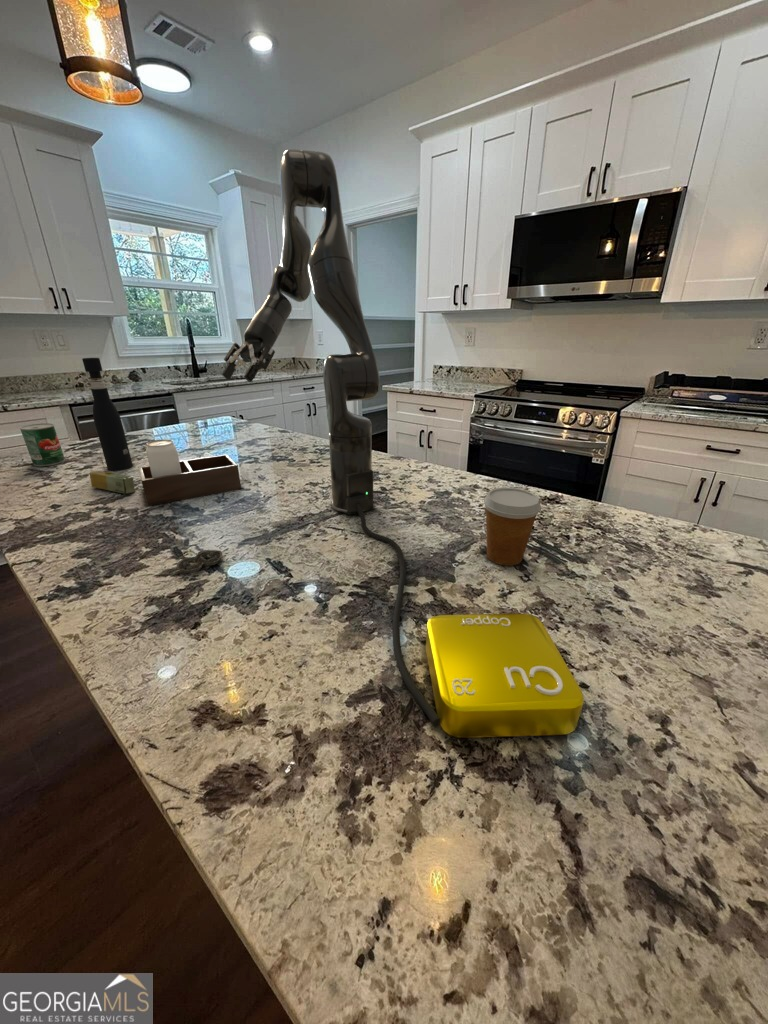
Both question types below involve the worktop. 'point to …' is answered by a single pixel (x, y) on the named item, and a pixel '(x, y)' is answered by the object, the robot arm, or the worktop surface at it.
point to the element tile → (499, 677)
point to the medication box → (112, 482)
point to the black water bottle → (107, 420)
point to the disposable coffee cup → (509, 523)
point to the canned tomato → (43, 444)
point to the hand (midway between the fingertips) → (236, 378)
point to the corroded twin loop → (199, 561)
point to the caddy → (191, 480)
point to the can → (163, 458)
